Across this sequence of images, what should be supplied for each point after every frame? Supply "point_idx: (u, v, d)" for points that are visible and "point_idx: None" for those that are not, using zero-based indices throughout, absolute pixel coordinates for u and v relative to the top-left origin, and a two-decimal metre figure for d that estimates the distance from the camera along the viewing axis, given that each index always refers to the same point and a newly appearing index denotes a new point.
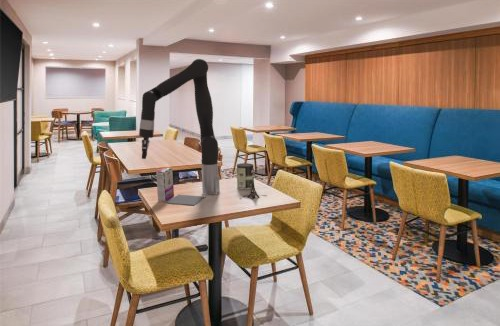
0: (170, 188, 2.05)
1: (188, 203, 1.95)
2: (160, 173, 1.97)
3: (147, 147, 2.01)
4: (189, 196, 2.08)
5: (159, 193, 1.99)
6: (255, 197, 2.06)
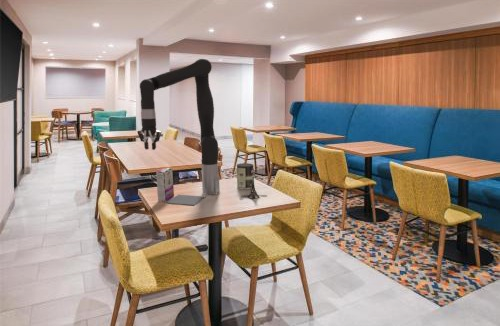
0: (170, 188, 2.05)
1: (188, 203, 1.95)
2: (160, 173, 1.97)
3: (155, 137, 2.02)
4: (189, 196, 2.08)
5: (159, 193, 1.99)
6: (255, 197, 2.06)
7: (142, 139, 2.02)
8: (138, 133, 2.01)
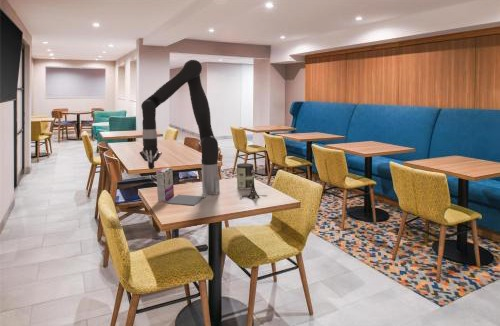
0: (170, 188, 2.05)
1: (188, 203, 1.95)
2: (160, 173, 1.97)
3: (154, 157, 2.04)
4: (189, 196, 2.08)
5: (159, 193, 1.99)
6: (255, 197, 2.06)
7: (146, 158, 2.03)
8: (140, 154, 2.03)
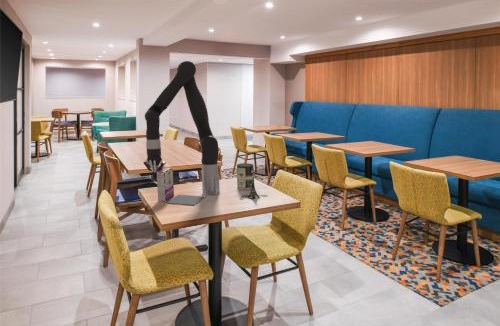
0: (171, 188, 2.05)
1: (188, 203, 1.95)
2: (160, 173, 1.97)
3: (158, 167, 2.05)
4: (189, 196, 2.08)
5: (159, 193, 1.99)
6: (255, 197, 2.06)
7: (150, 168, 2.04)
8: (144, 164, 2.04)
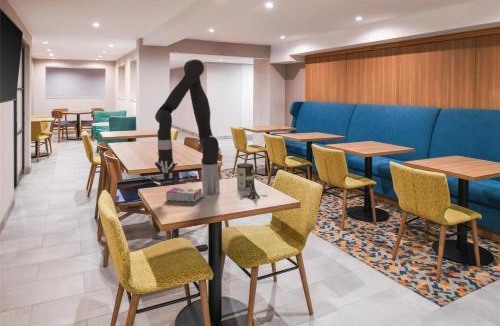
0: None
1: (188, 203, 1.95)
2: (192, 198, 1.96)
3: None
4: None
5: (173, 194, 1.98)
6: (255, 197, 2.06)
7: (161, 169, 2.02)
8: (156, 164, 2.02)
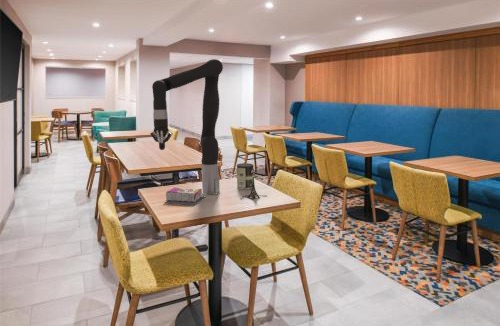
0: None
1: (188, 203, 1.95)
2: (192, 198, 1.96)
3: None
4: None
5: (173, 194, 1.98)
6: (255, 197, 2.05)
7: (156, 139, 2.04)
8: (151, 135, 2.04)
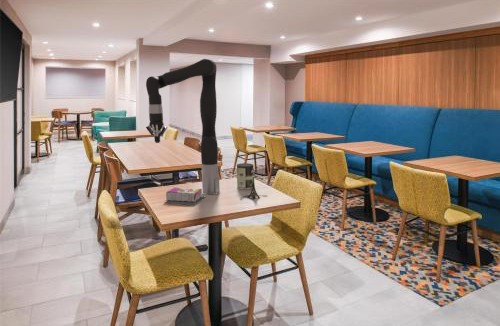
0: None
1: (188, 203, 1.95)
2: (192, 198, 1.96)
3: None
4: None
5: (173, 194, 1.98)
6: (255, 197, 2.05)
7: (152, 133, 2.14)
8: (147, 128, 2.14)
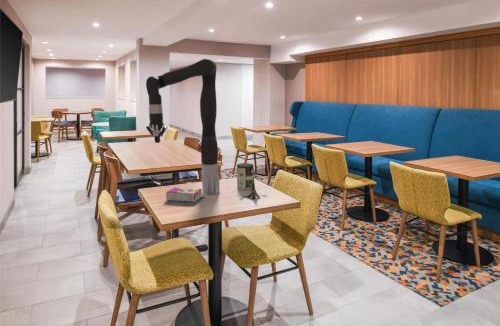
0: None
1: (188, 203, 1.95)
2: (192, 198, 1.96)
3: None
4: None
5: (173, 194, 1.98)
6: (255, 197, 2.05)
7: (152, 133, 2.14)
8: (147, 128, 2.14)
